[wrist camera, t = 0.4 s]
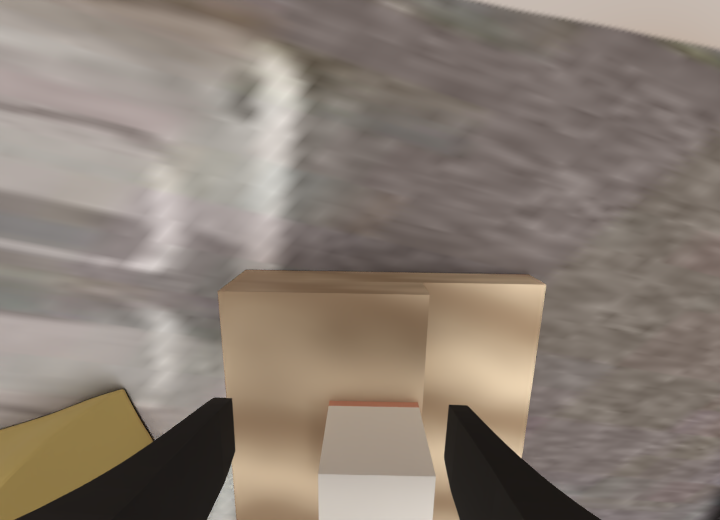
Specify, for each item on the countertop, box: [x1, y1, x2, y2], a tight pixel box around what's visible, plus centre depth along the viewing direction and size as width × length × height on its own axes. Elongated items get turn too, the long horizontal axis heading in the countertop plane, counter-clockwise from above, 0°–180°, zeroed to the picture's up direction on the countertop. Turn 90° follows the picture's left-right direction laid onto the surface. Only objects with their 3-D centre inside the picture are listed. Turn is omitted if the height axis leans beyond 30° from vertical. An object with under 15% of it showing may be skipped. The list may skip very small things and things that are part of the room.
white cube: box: [318, 401, 436, 520], centre depth 16 cm, size 4×4×4 cm
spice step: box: [218, 270, 546, 520], centre depth 20 cm, size 16×16×4 cm
